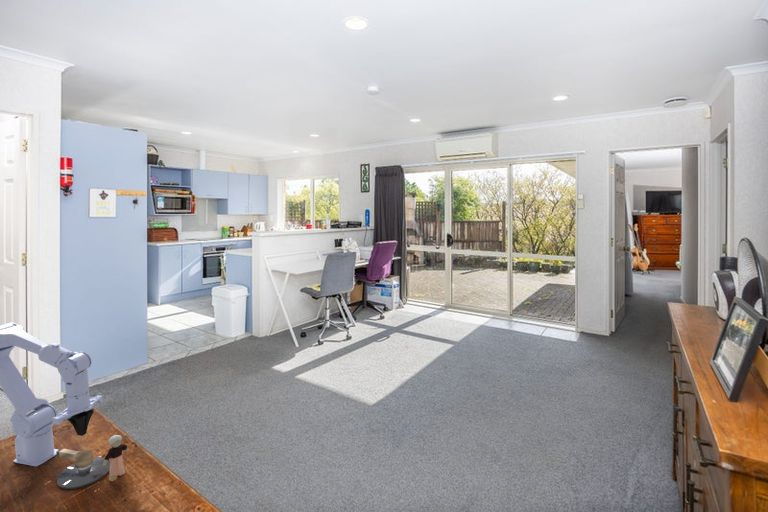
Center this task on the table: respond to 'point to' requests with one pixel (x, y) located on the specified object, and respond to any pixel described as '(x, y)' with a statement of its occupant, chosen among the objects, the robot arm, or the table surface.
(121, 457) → the grandmother figurine
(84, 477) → the post base
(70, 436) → the table surface
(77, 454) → the wooden scoop
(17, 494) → the table surface
